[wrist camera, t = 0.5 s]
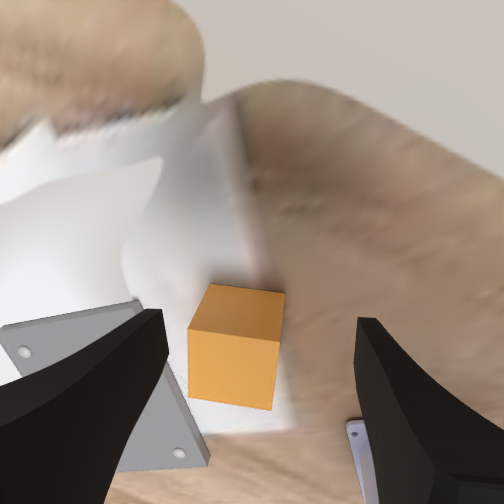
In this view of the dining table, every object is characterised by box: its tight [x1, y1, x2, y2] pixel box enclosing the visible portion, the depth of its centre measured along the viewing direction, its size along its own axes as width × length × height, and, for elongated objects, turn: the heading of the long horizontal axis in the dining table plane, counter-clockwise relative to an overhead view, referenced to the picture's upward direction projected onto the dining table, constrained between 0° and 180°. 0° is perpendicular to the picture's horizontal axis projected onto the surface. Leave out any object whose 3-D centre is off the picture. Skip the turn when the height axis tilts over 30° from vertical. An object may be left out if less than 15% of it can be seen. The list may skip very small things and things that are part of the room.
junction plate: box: [0, 300, 210, 473], centre depth 27 cm, size 16×12×4 cm
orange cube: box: [188, 284, 285, 411], centre depth 22 cm, size 5×5×5 cm
